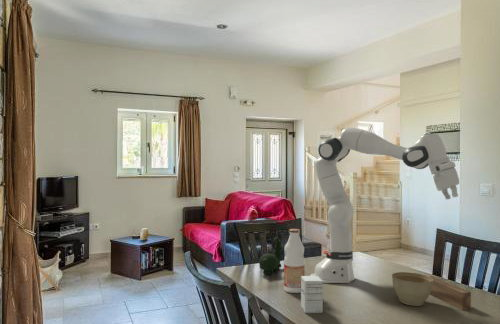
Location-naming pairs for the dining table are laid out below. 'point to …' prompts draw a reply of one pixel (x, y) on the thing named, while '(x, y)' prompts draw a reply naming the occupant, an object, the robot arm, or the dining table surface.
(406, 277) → the planter bowl
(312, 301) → the supplement box
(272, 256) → the green shrub
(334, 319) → the dining table surface
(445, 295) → the board
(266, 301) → the dining table surface
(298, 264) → the fruit juice
